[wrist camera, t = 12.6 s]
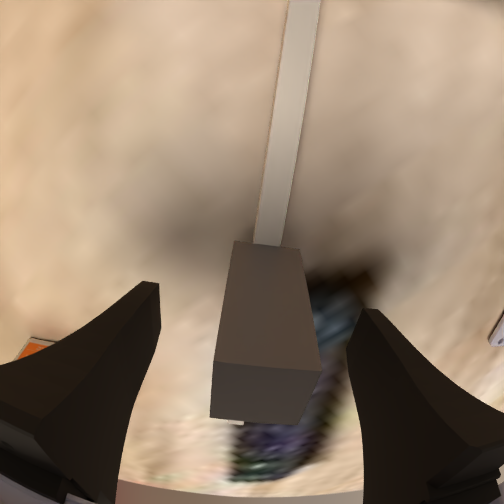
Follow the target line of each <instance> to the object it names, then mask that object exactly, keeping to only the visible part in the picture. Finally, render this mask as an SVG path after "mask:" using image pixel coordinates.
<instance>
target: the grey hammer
mask: <svg viewBox="0 0 504 504" xmlns="http://www.w3.org/2000/svg"><path fill="white" fill-rule="evenodd" d="M320 2H321V0H288V4H287V10H286V17H285V24H284V31H283V38H282V44H281V51H280V58H279V65H278V72H277V79H276V85H275V92H274V99H273V106H272V113H271V120H270V126H269V133H268V140H267V147H266V154H265V161H264V167H263V174H262V181H261V188H260V195H259V202H258V209H257V215H256V222H255V229H254V236H253V243H247V242H240V241H234V245H233V250H232V256H231V261H230V267H229V273H228V278H227V284H226V290H225V295H224V301H223V307H222V313H221V319H220V325H219V331H218V337H217V343H216V349H215V355H214V361H213V374H212V389H211V404H210V418H218V419H226V420H228V421H227V423H230V424H239V425H243V423H244V421H245V422H256V423H269V424H286V425H298V423H299V421H300V419H301V417H302V415H303V413H304V411H305V408H306V406H307V404H308V402H309V400H310V397H311V395H312V393H313V391H314V389H315V386H316V384H317V382H318V379H319V377H320V375H321V372H322V367H321V361H320V355H319V349H318V343H317V338H316V332H315V326H314V321H313V315H312V310H311V305H310V299H309V294H308V289H307V284H306V278H305V273H304V268H303V263H302V258H301V254H300V249H293V248H286V247H280V246H281V240H282V235H283V230H284V224H285V219H286V213H287V208H288V203H289V197H290V191H291V186H292V180H293V175H294V169H295V163H296V157H297V151H298V146H299V140H300V134H301V128H302V122H303V116H304V109H305V103H306V97H307V91H308V84H309V78H310V71H311V65H312V58H313V51H314V45H315V38H316V31H317V24H318V17H319V9H320Z"/></svg>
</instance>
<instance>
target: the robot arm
mask: <svg viewBox="0 0 504 504" xmlns="http://www.w3.org/2000/svg"><path fill="white" fill-rule="evenodd" d="M160 331H161V314H160V294H159V283H153V282H147V281H142V282H141V283H139V284H138V285H137V286H135V287H134V288H133V289H132V290H130V291H129V292H128V293H127V294H126V295H124V296H123V297H122V298H121V299H119V300H118V301H117V302H116V303H114V304H113V305H112V306H111V307H109V308H108V309H107V310H105V311H104V312H103V313H102V314H100V315H99V316H97V317H96V318H95V319H93V320H92V321H90V322H89V323H88V324H86V325H85V326H83V327H82V328H80V329H79V330H77V331H75V332H74V333H72V334H70V335H69V336H67V337H65V338H64V339H62V340H60V341H58V342H56V343H54V344H52V345H50V346H48V347H46V348H44V349H42V350H40V351H38V352H35V353H33V354H31V355H28V356H26V357H23V358H21V359H18V360H15V361H12V362H9V363H6V364H3V365H0V504H115V498H116V490H117V482H118V475H119V469H120V463H121V457H122V452H123V447H124V442H125V437H126V433H127V429H128V425H129V421H130V417H131V413H132V409H133V406H134V403H135V400H136V398H137V395H138V392H139V390H140V387H141V385H142V382H143V380H144V377H145V375H146V372H147V370H148V368H149V365H150V363H151V360H152V358H153V355H154V353H155V349H156V346H157V342H158V338H159V335H160ZM489 343H490V345H491V346H492V347H494V346H504V315H503V317H502V319H501V320H500V322H499V324H498V326H497V327H496V329H495V331H494V332H493V334H492V335H491V337H490V339H489ZM346 352H347V363H348V372H349V377H350V381H351V386H352V390H353V394H354V398H355V403H356V407H357V412H358V416H359V420H360V426H361V432H362V444H363V460H364V496H363V504H504V482H503V483H501V484H499V485H498V483H497V480H496V479H498V478H499V477H500V475H501V473H500V471H499V468H500V467H501V466H502V465H503V464H504V413H503V412H501V411H498V410H496V409H494V408H493V407H491V406H489V405H487V404H485V403H484V402H482V401H480V400H479V399H477V398H475V397H474V396H472V395H471V394H469V393H468V392H466V391H465V390H463V389H462V388H461V387H459V386H458V385H456V384H455V383H454V382H453V381H451V380H450V379H449V378H448V377H446V376H445V375H444V374H443V373H442V372H440V371H439V370H438V369H437V368H436V367H435V366H434V365H432V364H431V363H430V362H429V361H428V360H427V359H426V358H425V357H424V356H423V355H422V354H421V353H420V352H419V351H418V350H417V349H416V348H415V347H414V346H413V345H412V344H411V343H410V342H409V341H408V340H407V339H406V338H405V337H404V335H403V334H402V333H401V332H400V331H399V330H398V329H397V328H396V327H395V326H394V325H393V324H392V323H391V322H390V321H389V320H388V319H387V318H386V317H385V316H384V315H383V314H382V313H381V312H380V311H379V310H378V309H368V308H363V309H362V312H361V314H360V317H359V319H358V322H357V324H356V327H355V329H354V331H353V334H352V336H351V339H350V341H349V343H348V346H347V348H346Z"/></svg>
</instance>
